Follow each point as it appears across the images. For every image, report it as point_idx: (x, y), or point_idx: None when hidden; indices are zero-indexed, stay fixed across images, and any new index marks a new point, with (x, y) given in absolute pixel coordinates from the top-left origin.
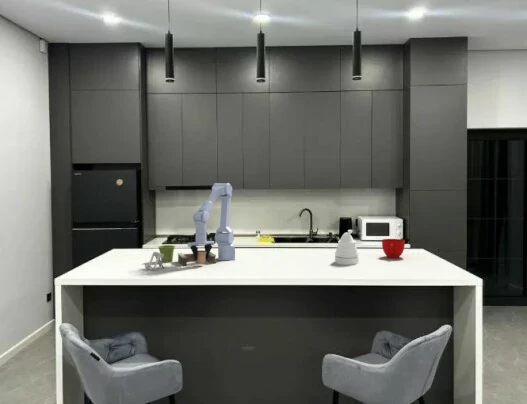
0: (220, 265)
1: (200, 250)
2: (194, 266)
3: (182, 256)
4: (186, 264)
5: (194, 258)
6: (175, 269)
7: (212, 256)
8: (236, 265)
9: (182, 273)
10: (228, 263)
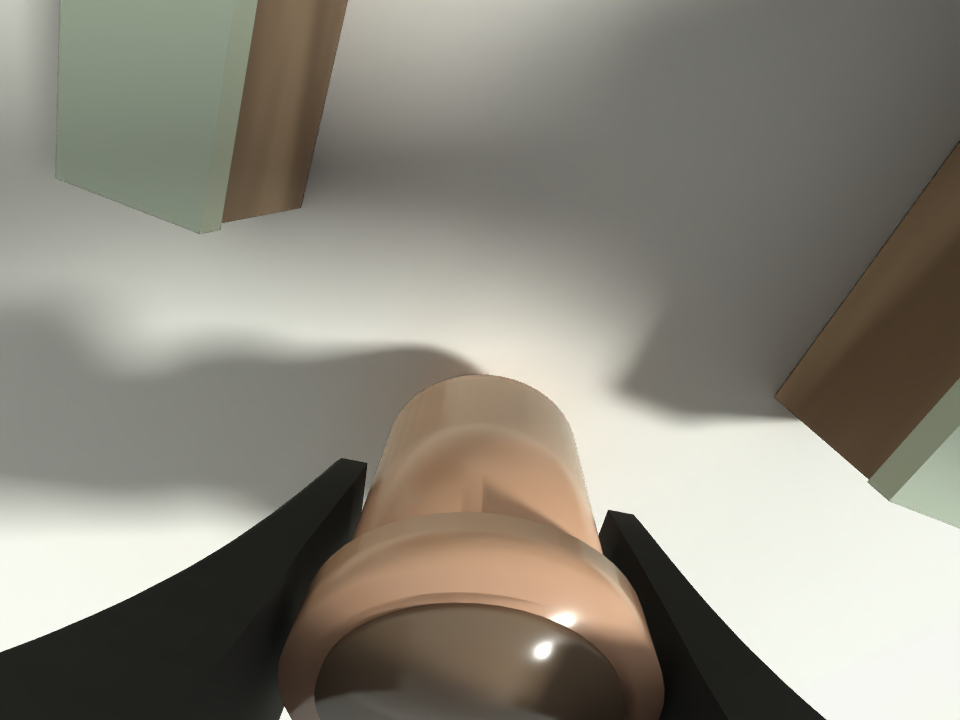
0: (727, 589)
1: (512, 652)
2: (375, 389)
3: (89, 29)
4: (287, 208)
5: (326, 476)
6: (8, 382)
7: (883, 488)
8: (860, 710)
9: (46, 629)
10: (950, 560)
